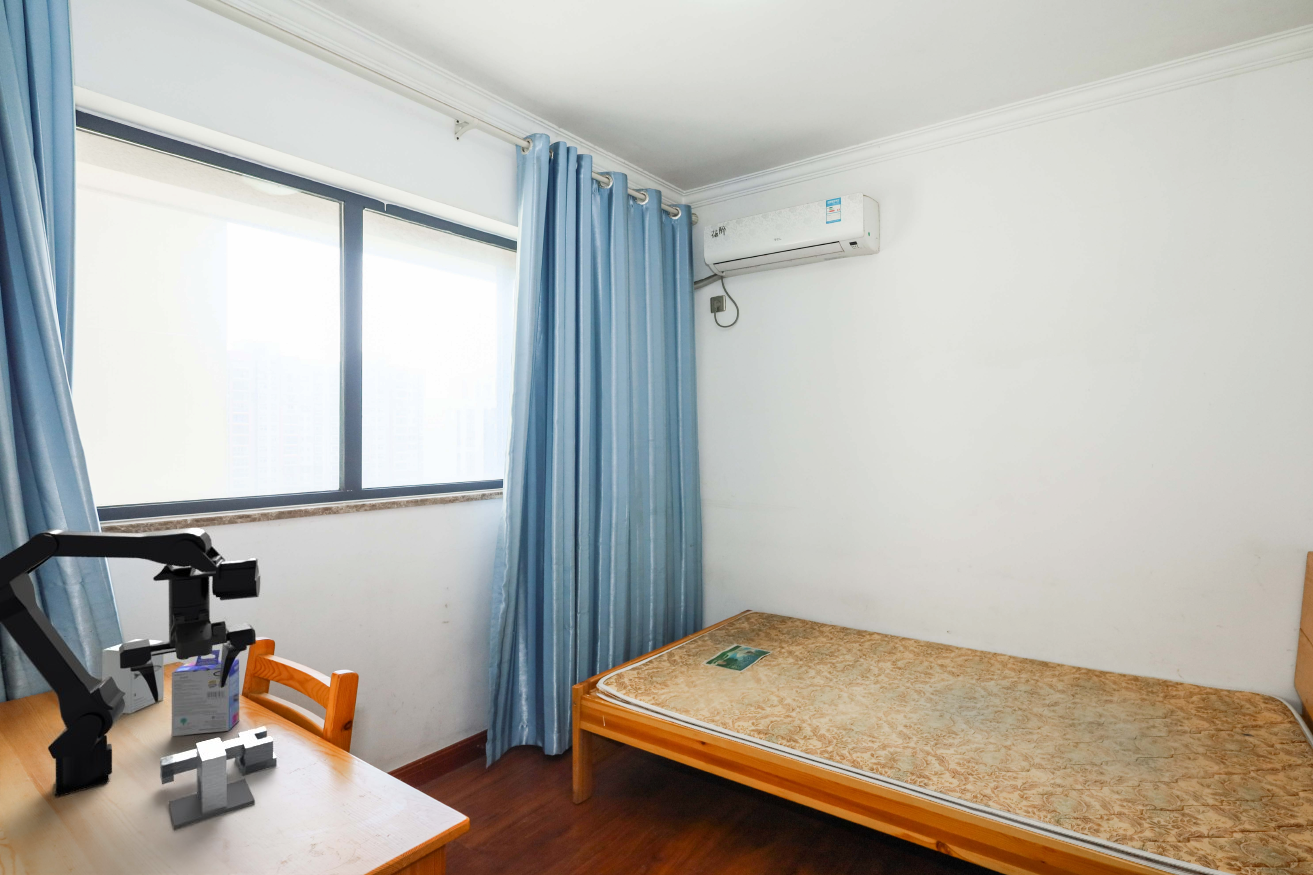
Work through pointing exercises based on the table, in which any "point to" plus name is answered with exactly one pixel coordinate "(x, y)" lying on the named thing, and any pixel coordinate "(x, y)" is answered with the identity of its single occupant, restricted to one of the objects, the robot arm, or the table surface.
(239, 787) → the mat
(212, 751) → the brushed aluminum pillar
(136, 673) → the supplement box
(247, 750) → the vise
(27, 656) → the robot arm
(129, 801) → the table surface
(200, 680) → the ink cartridge box
